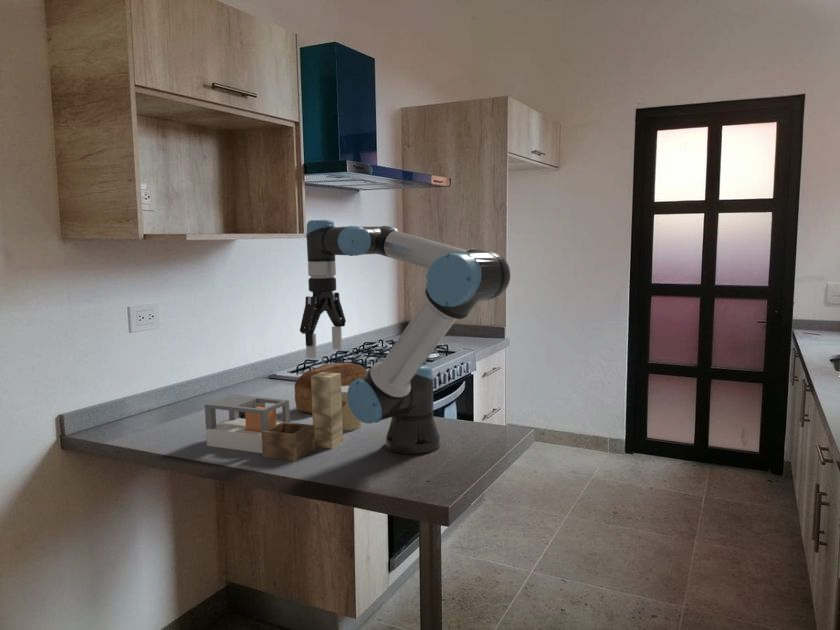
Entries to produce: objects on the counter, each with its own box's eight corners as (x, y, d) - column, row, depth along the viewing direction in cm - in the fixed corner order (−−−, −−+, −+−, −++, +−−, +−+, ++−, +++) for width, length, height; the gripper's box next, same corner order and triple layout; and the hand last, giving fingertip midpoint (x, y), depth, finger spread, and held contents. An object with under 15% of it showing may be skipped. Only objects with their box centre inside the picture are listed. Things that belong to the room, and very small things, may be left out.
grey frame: (290, 440, 191) (288, 400, 189) (265, 453, 180) (263, 410, 178) (234, 433, 199) (232, 394, 197) (207, 445, 188) (204, 404, 186)
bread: (373, 400, 237) (372, 360, 235) (313, 417, 215) (312, 374, 214) (350, 395, 244) (348, 357, 243) (290, 411, 223) (288, 369, 221)
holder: (315, 449, 182) (314, 425, 181) (294, 461, 173) (293, 435, 172) (284, 445, 186) (283, 421, 185) (262, 457, 177) (261, 431, 176)
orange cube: (276, 429, 188) (275, 408, 188) (263, 435, 183) (262, 413, 182) (259, 427, 191) (258, 406, 190) (246, 433, 185) (245, 411, 185)
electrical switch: (264, 423, 209) (263, 395, 207) (268, 429, 204) (267, 401, 202) (234, 428, 205) (233, 399, 203) (236, 434, 200) (235, 404, 199)
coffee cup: (329, 425, 206) (327, 387, 204) (357, 421, 210) (356, 384, 208) (339, 433, 197) (338, 393, 196) (368, 428, 202) (367, 389, 200)
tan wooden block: (343, 442, 188) (340, 373, 186) (332, 448, 183) (329, 377, 181) (324, 440, 191) (322, 371, 188) (313, 446, 185) (310, 376, 183)
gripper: (333, 274, 194) (335, 345, 197) (284, 279, 171) (287, 360, 174) (356, 274, 191) (358, 346, 194) (309, 280, 168) (312, 362, 171)
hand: (324, 353), depth 184 cm, fingers open, 13 cm apart
